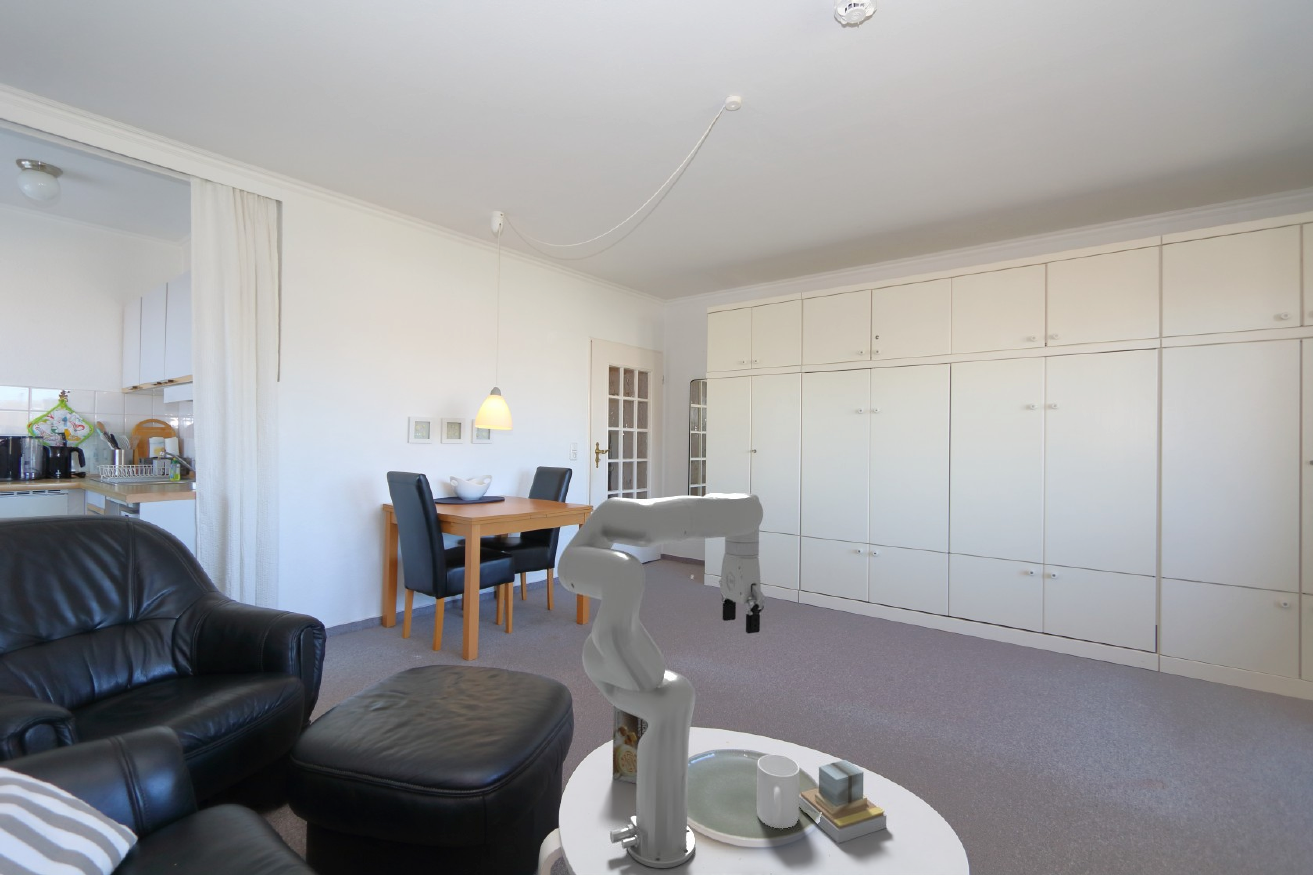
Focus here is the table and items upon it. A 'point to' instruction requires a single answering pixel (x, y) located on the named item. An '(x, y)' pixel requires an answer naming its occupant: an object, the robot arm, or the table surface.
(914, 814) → the table surface
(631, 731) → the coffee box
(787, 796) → the mug
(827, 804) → the banded blue box
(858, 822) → the dock
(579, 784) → the table surface
